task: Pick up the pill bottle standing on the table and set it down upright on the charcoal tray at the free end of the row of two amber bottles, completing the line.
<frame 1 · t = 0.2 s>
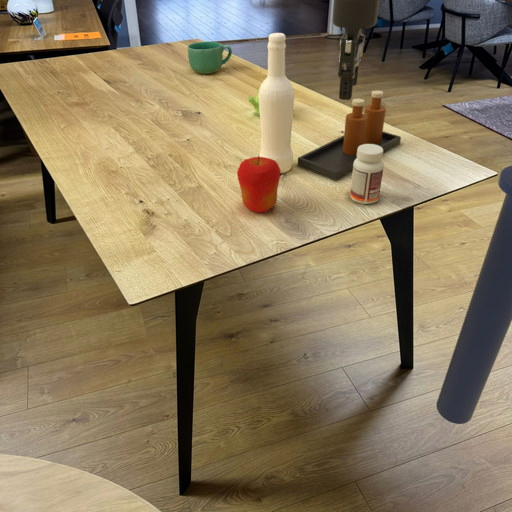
hand: (348, 91, 89), 23 cm above the table, tool pointing down, fingers open, 8 cm apart
mug: (211, 71, 183), on the table
apple: (259, 207, 101), on the table
pill bottle: (364, 198, 103), on the table
amber bottle near: (353, 151, 121), point 1 cm above the table, touching tray
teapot: (271, 115, 144), on the table
amber bottle far: (370, 141, 125), point 1 cm above the table, touching tray
bottle: (276, 168, 116), on the table
tray: (350, 154, 120), on the table
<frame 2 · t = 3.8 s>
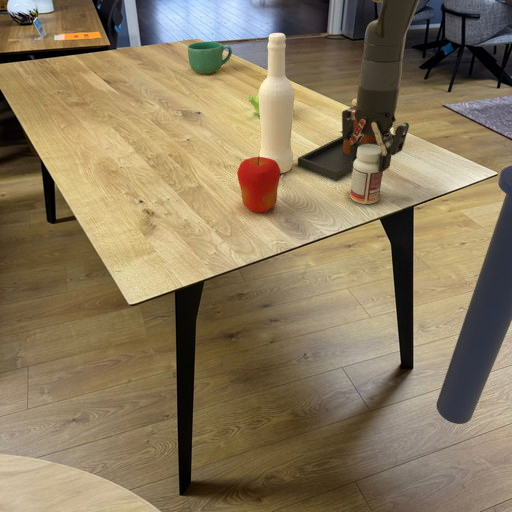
hand: (368, 165, 98), 8 cm above the table, tool pointing down, fingers closed on pill bottle, 6 cm apart
pill bottle: (364, 198, 103), on the table, touching gripper
everything else where it was.
when the fingers open (8 cm above the table, at t = 11.1 s): pill bottle stays where it is, resting on tray.
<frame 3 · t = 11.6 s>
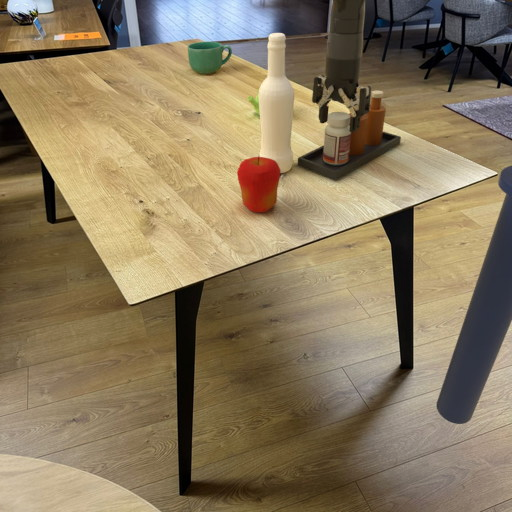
hand: (338, 126, 111), 9 cm above the table, tool pointing down, fingers open, 8 cm apart
pill bottle: (335, 161, 117), resting on tray
everything else where it was.
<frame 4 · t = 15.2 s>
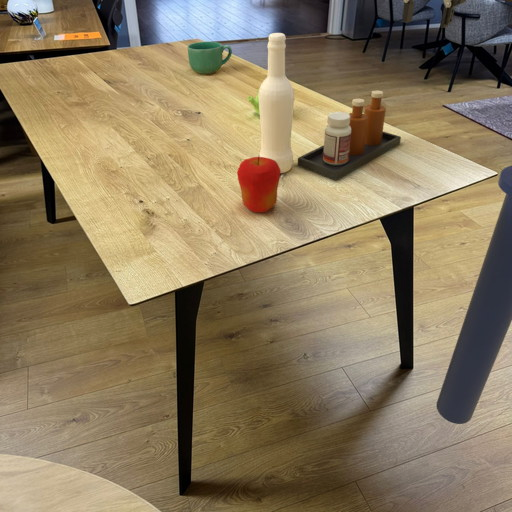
hand: (425, 24, 101), 30 cm above the table, tool pointing down, fingers open, 8 cm apart
nothing on the table moved.
at the end: pill bottle 0.6 cm from the target spot in the tray, point 0.4 cm above the tray's base; pill bottle tilted 0°; amber bottle near moved 0.0 cm from its start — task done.
